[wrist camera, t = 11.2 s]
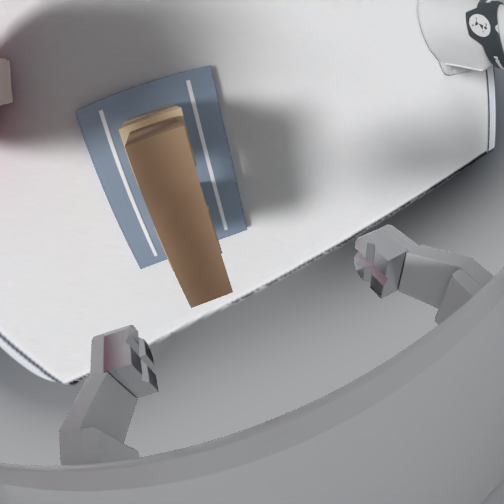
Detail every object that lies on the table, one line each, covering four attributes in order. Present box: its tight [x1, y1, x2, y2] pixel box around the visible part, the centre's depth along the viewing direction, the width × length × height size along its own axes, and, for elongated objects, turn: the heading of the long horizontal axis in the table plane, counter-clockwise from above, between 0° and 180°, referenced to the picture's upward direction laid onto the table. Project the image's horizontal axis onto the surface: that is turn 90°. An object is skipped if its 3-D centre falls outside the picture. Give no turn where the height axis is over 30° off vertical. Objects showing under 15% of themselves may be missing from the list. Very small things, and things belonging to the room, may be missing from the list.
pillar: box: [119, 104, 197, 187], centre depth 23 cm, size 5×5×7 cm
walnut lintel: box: [125, 117, 233, 308], centre depth 20 cm, size 4×13×6 cm, turn 11°
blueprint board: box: [76, 66, 247, 269], centre depth 28 cm, size 14×20×1 cm
